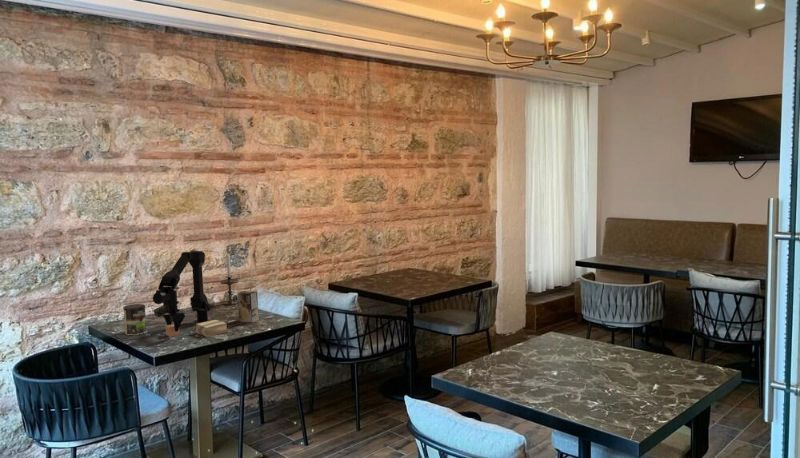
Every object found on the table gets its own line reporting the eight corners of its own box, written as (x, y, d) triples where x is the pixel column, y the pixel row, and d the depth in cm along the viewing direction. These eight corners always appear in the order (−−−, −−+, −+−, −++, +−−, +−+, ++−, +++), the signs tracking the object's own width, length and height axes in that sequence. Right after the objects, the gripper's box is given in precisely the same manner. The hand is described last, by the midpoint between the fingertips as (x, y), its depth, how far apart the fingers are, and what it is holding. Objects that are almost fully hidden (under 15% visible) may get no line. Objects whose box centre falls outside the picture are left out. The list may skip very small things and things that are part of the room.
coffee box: (259, 319, 320) (258, 291, 319) (252, 322, 314) (251, 293, 313) (245, 318, 324) (244, 290, 322) (238, 321, 318) (237, 292, 316)
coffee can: (151, 331, 300) (149, 305, 298) (132, 336, 291) (131, 309, 290) (138, 329, 305) (137, 302, 304) (120, 333, 296) (118, 307, 295)
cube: (166, 335, 293) (165, 325, 293) (175, 333, 297) (175, 323, 296) (170, 337, 290) (169, 327, 289) (179, 335, 293) (179, 325, 293)
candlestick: (234, 305, 354) (232, 249, 350) (218, 305, 356) (215, 249, 352) (242, 301, 365) (239, 247, 361) (226, 301, 367) (223, 246, 363)
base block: (196, 333, 297) (196, 323, 296) (216, 328, 305) (215, 319, 304) (207, 337, 289) (206, 327, 289) (226, 332, 297) (226, 323, 297)
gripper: (147, 299, 293) (149, 329, 294) (162, 305, 279) (164, 336, 281) (169, 295, 300) (171, 325, 302) (184, 301, 287) (186, 332, 288)
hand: (172, 329), depth 293 cm, fingers open, 9 cm apart
